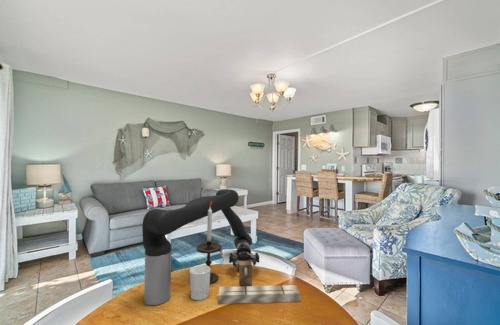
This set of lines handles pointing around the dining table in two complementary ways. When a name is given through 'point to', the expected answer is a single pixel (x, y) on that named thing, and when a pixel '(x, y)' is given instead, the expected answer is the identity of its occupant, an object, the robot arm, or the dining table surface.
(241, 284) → the upright wooden pillar
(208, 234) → the candlestick
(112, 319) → the dining table surface
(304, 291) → the dining table surface
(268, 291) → the batten
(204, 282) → the white cup
